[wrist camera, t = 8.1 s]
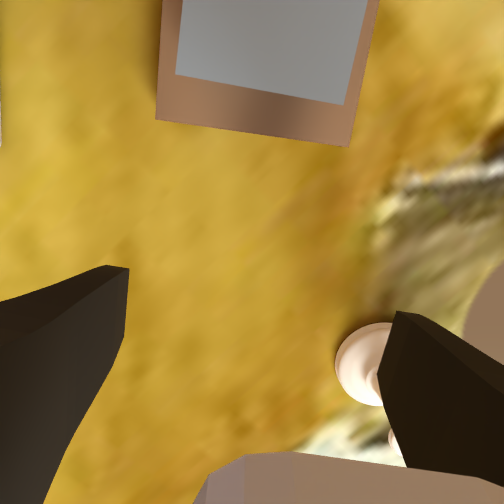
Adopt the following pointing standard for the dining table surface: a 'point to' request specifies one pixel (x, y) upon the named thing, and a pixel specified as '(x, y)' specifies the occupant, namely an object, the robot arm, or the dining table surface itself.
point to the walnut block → (255, 95)
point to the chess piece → (364, 366)
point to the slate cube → (272, 44)
